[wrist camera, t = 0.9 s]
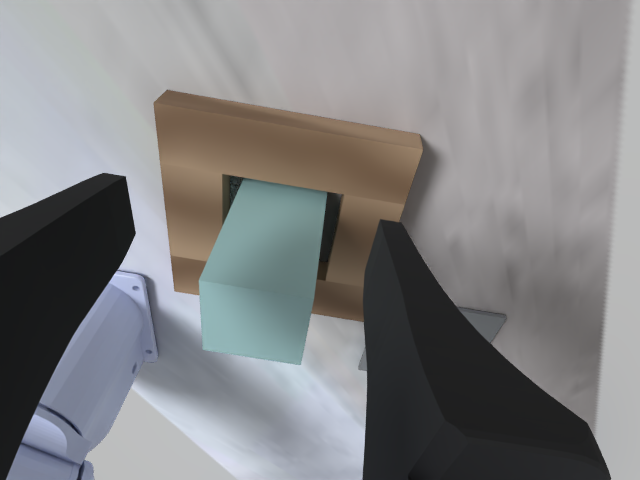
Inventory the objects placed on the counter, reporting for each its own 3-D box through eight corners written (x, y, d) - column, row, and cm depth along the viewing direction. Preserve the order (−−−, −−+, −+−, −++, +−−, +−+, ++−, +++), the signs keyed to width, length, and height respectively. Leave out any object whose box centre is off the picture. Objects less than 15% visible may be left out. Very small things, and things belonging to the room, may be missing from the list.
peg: (316, 249, 25) (300, 365, 18) (243, 237, 25) (202, 349, 18) (327, 187, 22) (313, 298, 16) (245, 173, 22) (198, 280, 16)
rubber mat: (460, 382, 32) (461, 386, 32) (358, 366, 32) (358, 369, 31) (505, 315, 27) (506, 318, 27) (383, 295, 27) (384, 298, 26)
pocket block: (365, 303, 27) (365, 322, 26) (183, 273, 27) (174, 291, 26) (419, 134, 20) (423, 149, 18) (166, 89, 19) (153, 102, 18)
